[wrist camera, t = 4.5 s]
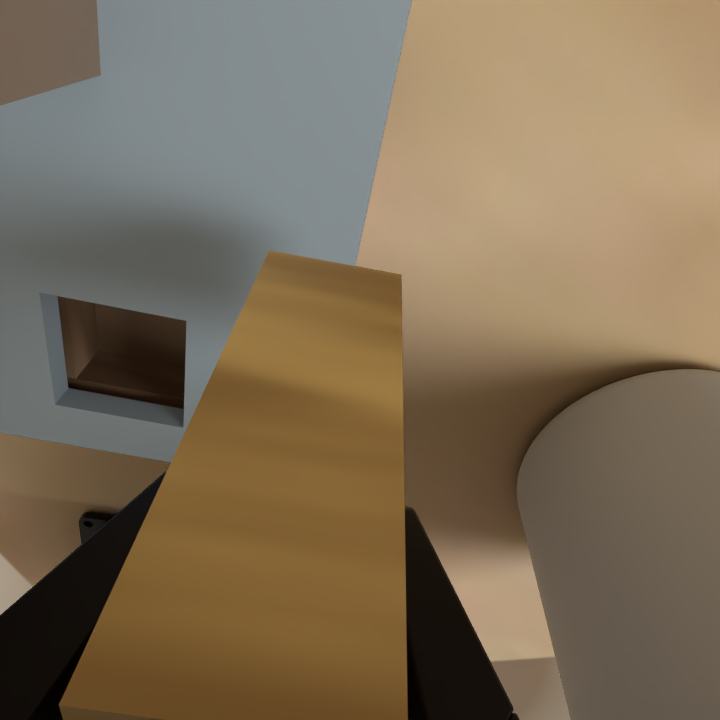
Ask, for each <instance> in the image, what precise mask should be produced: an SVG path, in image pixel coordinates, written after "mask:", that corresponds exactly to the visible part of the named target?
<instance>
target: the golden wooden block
mask: <svg viewBox="0 0 720 720" xmlns="http://www.w3.org/2000/svg"><path fill="white" fill-rule="evenodd" d="M59 708H60V711H61V714H62V718H63V720H408V703H407V633H406V563H405V493H404V423H403V353H402V283H401V275H400V274H395V273H389V272H384V271H378V270H373V269H368V268H362V267H357V266H352V265H346V264H341V263H336V262H330V261H325V260H320V259H314V258H309V257H303V256H298V255H293V254H287V253H282V252H277V251H271V250H269V252H268V254H267V256H266V258H265V260H264V262H263V265H262V267H261V269H260V271H259V273H258V275H257V278H256V280H255V282H254V284H253V286H252V288H251V291H250V293H249V295H248V297H247V299H246V301H245V304H244V306H243V308H242V310H241V312H240V314H239V317H238V319H237V321H236V323H235V325H234V327H233V329H232V332H231V334H230V336H229V338H228V340H227V342H226V345H225V347H224V349H223V351H222V353H221V355H220V358H219V360H218V362H217V364H216V366H215V368H214V371H213V373H212V375H211V377H210V379H209V381H208V384H207V386H206V388H205V390H204V392H203V394H202V396H201V399H200V401H199V403H198V405H197V407H196V409H195V412H194V414H193V416H192V418H191V420H190V422H189V425H188V427H187V429H186V431H185V433H184V435H183V438H182V440H181V442H180V444H179V446H178V448H177V451H176V453H175V455H174V457H173V459H172V461H171V464H170V466H169V468H168V470H167V472H166V474H165V476H164V479H163V481H162V483H161V485H160V487H159V489H158V492H157V494H156V496H155V498H154V500H153V502H152V505H151V507H150V509H149V511H148V513H147V515H146V518H145V520H144V522H143V524H142V526H141V528H140V531H139V533H138V535H137V537H136V539H135V541H134V543H133V546H132V548H131V550H130V552H129V554H128V556H127V559H126V561H125V563H124V565H123V567H122V569H121V572H120V574H119V576H118V578H117V580H116V582H115V585H114V587H113V589H112V591H111V593H110V595H109V598H108V600H107V602H106V604H105V606H104V608H103V611H102V613H101V615H100V617H99V619H98V621H97V623H96V626H95V628H94V630H93V632H92V634H91V636H90V639H89V641H88V643H87V645H86V647H85V649H84V652H83V654H82V656H81V658H80V660H79V662H78V665H77V667H76V669H75V671H74V673H73V675H72V678H71V680H70V682H69V684H68V686H67V688H66V690H65V693H64V695H63V697H62V699H61V701H60V703H59Z"/></svg>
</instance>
